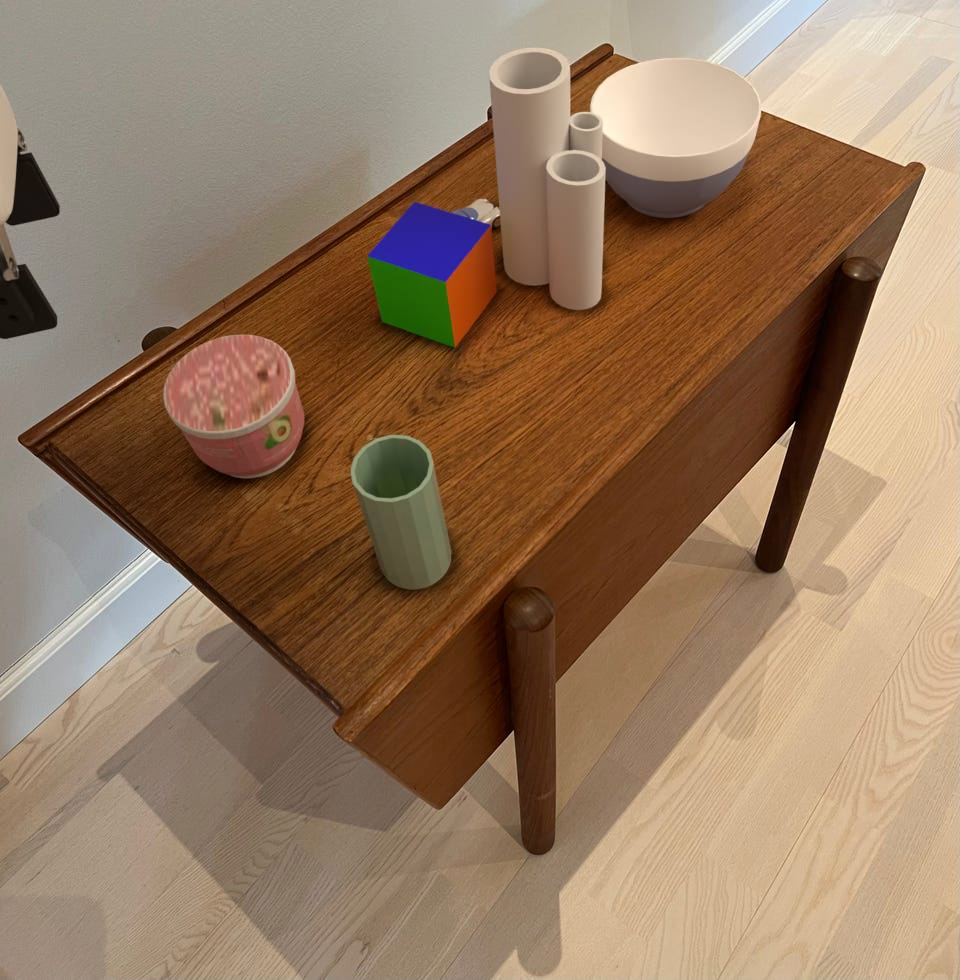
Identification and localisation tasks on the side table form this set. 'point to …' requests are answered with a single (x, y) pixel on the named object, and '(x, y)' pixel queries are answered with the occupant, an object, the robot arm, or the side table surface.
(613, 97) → the bowl
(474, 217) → the toy car
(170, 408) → the container
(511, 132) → the vase
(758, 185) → the side table surface
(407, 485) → the tube
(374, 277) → the cube
